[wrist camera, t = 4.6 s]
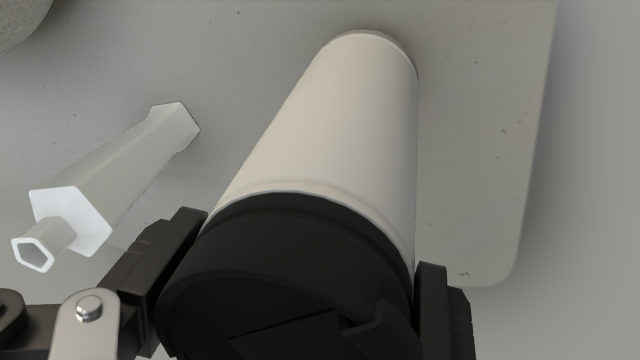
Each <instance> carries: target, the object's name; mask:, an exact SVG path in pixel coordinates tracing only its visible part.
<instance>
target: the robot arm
mask: <svg viewBox="0 0 640 360" xmlns="http://www.w3.org/2000/svg"><path fill="white" fill-rule="evenodd" d="M207 218H208V213H207V212H206V211H202V210H197V209H193V208H188V207H184V206H182V207H181V208H180V209H179V210H178V211H177V212H176V214H175V215H174V216H173V217H172V219H171V220H170V221H168V220H164V219H160V220H158V221H156V222H155V223H153V224H151V225H150V226H148V227H146V228H145V229H144V230H143V232H142V233H141V234H140V235H139V236H138V237H137V239H136V241H135V242H133V243H132V245H131V246H130V247H129V248H128V250H127V252H125V253H124V254H123V255H122V257H121V258H120V259H119V260H118V261H117V263H116V264H115V265H114V266H113V267H112V268H111V270H110V271H109V272H108V273H107V274H106V275H105V277H104V278H103V279H102V280H101V281H100V283H99V284H98V285H97V286H96V287H95V288H88V289H84V290H81V291H78V292H76V293H74V294H72V295H71V296H69V297H68V298H67V299H66V300H65V301H64V302H63V303H62V304H46V305H45V304H44V305H25V302H24V299H23V297H22V295H21V294H20V293H19V292H17V291H15V290H11V289H4V288H3V289H1V288H0V360H134V359H135V358H136V356H137V355H138V356H142V357H146V358H150V359H151V357H152V355H153V354H154V352H155V350H156V349H157V347H158V345H159V344H160V340H159V339H158V337H157V335H156V330H155V324H154V311H155V304H156V302H157V300H158V298H159V296H160V294H161V292H162V290H163V289H164V287H165V286H166V284H167V283H168V281H169V280H170V278H171V276H172V275H173V273H174V272H175V270H176V269H177V267H178V266H179V264H180V263H181V261H182V260H183V258H184V257H185V255H186V254H187V252H188V251H189V249H190V248H191V247H192V246H193V244H194V243H195V241H196V238H197V236H198V234H199V232H200V230H201V228H202V226H203V224H204V223H205V221H206V220H207ZM471 321H472V317H471V308H470V303H469V301H468V300H467V298H466V296H465V295H464V293H463V291H462V289H459V288H455V287H450V286H447V271H446V267H445V266H440V265H436V264H431V263H427V262H423V261H419V263H418V266H417V269H416V272H415V275H414V301H413V304H412V308H411V327H412V328H413V330H414V331H415V333H416V334H417V336H418V337H419V339H420V340H421V342H422V347H423V352H424V360H476V354H475V344H474V336H473V327H472V323H471Z"/></svg>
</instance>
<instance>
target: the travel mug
mask: <svg viewBox="0 0 640 360" xmlns="http://www.w3.org/2000/svg"><path fill="white" fill-rule="evenodd" d="M417 122H418V74H417V69H416V66H415V63H414V61H413V59H412V57H411V55H410V54H409V53H408V51H407V50H406V48H405V47H404V46H402V45H401V44H400V43H399V42H398V41H397V40H395V39H394V38H392V37H391V36H389V35H387V34H384V33H382V32H379V31H375V30H368V29H358V30H351V31H347V32H344V33H342V34H339V35H337V36H335V37H333V38H332V39H331V40H330V41H328V42H327V43H326V44H325V45H324V46H323V47H322V48H321V49H320V50H319V52H318V53H317V55H316V56H315V58H314V59H313V61H312V62H311V64H310V65H309V67H308V68H307V70H306V71H305V73H304V74H303V76H302V77H301V79H300V80H299V82H298V83H297V85H296V86H295V88H294V89H293V91H292V92H291V94H290V95H289V97H288V98H287V100H286V101H285V103H284V104H283V106H282V107H281V109H280V110H279V112H278V113H277V115H276V116H275V118H274V119H273V121H272V122H271V124H270V125H269V127H268V128H267V130H266V131H265V133H264V134H263V136H262V137H261V139H260V140H259V142H258V143H257V145H256V146H255V148H254V149H253V151H252V152H251V154H250V155H249V157H248V158H247V160H246V161H245V163H244V164H243V166H242V167H241V169H240V170H239V172H238V173H237V175H236V176H235V178H234V179H233V181H232V182H231V184H230V185H229V187H228V188H227V190H226V191H225V193H224V194H223V196H222V197H221V199H220V200H219V202H218V203H217V205H216V206H215V208H214V210H213V212H212V213H211V214H210V215H209V217H208V218H207V220H206V221H205V223H204V224H203V226H202V228H201V230H200V232H199V234H198V236H197V238H196V241H195V243H194V244H193V246H192V247H191V248H190V249H189V251H188V252H187V254H186V255H185V257H184V258H183V260H182V261H181V263H180V264H179V266H178V267H177V269H176V270H175V272H174V273H173V275H172V276H171V278H170V280H169V281H168V283H167V284H166V286H165V287H164V289H163V290H162V292H161V294H160V296H159V298H158V300H157V302H156V304H155V311H154V324H155V330H156V335H157V337H158V339H159V340H160V342H161V344H162V345H163V347H164V348H165V350H166V352H167V354H168V355H169V357H170V358H172V357H176V358H177V360H424V352H423V347H422V342H421V340H420V339H419V337H418V336H417V334H416V333H415V331H414V330H413V328H412V327H411V308H412V304H413V301H414V267H415V219H416V171H417Z"/></svg>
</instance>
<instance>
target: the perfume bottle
mask: <svg viewBox="0 0 640 360" xmlns="http://www.w3.org/2000/svg"><path fill="white" fill-rule="evenodd" d="M199 132H200V129H199V127H198V126H197V124H196V123H195V121H194V120H193V119H192V117H191V116H190V114H189V113H188V111H187V110H186V109H185V107H184V106H183V104H182V103H180V102H176V103H169V104H162V105H155V106H152V107H151V109H150V111H149V113H148V115H147V117H146V119H144V120H143V121H141V122H139V123H138V124H136V125H135V126H133V127H131V128H130V129H128V130H127V131H125V132H123V133H122V134H120V135H119V136H117V137H115V138H114V139H112V140H111V141H109V142H107V143H106V144H104V145H103V146H101V147H99V148H98V149H96V150H94V151H93V152H91V153H90V154H88V155H86V156H85V157H83V158H82V159H80V160H78V161H77V162H75V163H74V164H72V165H70V166H69V167H67V168H66V169H64V170H62V171H61V172H59V173H58V174H56V175H54V176H53V177H51V178H50V179H48V180H46V181H45V182H43V183H42V184H40V185H38V186H37V187H35V188H34V189H32V190H30V191H29V197H30V200H31V204H32V208H33V212H34V215H35V219H36V224H35V225H34V226H33V227H31V228H30V229H29V230H28V231H27V232H25V233H24V234H23V235H22V236H21V237H20V238H14V239H12V240H11V243H12V246H13V250H14V253H15V256H16V259H17V261H19V262H20V263H22V264H23V265H26V266H28V267H30V268H32V269H35V270H37V271H39V272H42V273H45V272H47V271H48V269H49V268H50V267H51V266H52V264H53V263H54V262H55V259H56V258H57V257H58V256H59V255H60V254H61V253H62V252H63V251H64V250H65V249H66V248H69V249H71V250H73V251H76V252H78V253H80V254H82V255H84V256H87V257H91V256H92V255H93V254H94V253H95V252H96V250H97V249H98V248H99V247H100V246H101V245H102V243H103V242H104V241H105V240H106V239H107V238H108V236H109V235H110V234H111V233H112V232H113V230H114V229H115V228H116V227H117V225H118V224H119V223H120V222H121V220H122V219H123V218H124V217H125V215H126V214H127V213H128V212H129V210H130V209H131V208H132V207H133V205H134V204H135V203H136V202H137V200H138V199H139V198H140V197H141V195H142V194H143V193H144V192H145V190H146V189H147V188H148V186H149V185H150V184H151V183H152V181H153V180H154V179H155V178H156V176H157V175H158V174H159V173H160V171H161V170H162V169H163V168H164V166H165V165H166V164H167V163H168V161H169V160H170V159H171V158H172V156H173V155H174V154H175V153H177V152H180V151H182V150H184V149H185V148H186V147H187V146H188V145H189V144H190V143H191V141H192V140H193V139H194V138H195V137H196V136H197V134H198V133H199Z"/></svg>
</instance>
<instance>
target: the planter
mask: <svg viewBox="0 0 640 360" xmlns="http://www.w3.org/2000/svg"><path fill="white" fill-rule="evenodd" d="M52 2H53V0H0V56H1V55H3V54H5V53H6V52H8V51H9V50H11V49H13V48H14V47H16V46H17V45H19V44H20V43H21V42H23V41H24V40H25V39H26V38H27V37H29V36H30V35H31V34H32V33H33V32H34V30H35V29H36V28H37V27H38V26H39V24H40V23H41V22H42V20H43V19H44V17H45V16H46V14H47V12H48V10H49V8H50V7H51V4H52Z"/></svg>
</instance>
